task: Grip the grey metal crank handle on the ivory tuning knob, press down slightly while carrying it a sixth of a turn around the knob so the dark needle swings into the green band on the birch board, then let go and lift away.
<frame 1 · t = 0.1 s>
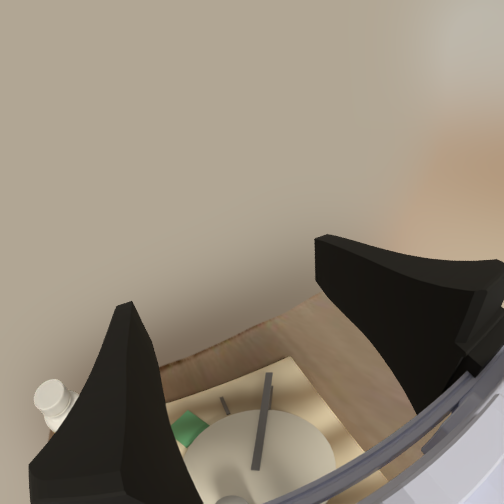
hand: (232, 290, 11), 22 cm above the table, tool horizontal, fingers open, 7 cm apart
supplement bottle: (98, 444, 26), on the table
tuning knob: (255, 439, 21), point 5 cm above the table, hinge at 0.0°
dial board: (256, 472, 22), on the table
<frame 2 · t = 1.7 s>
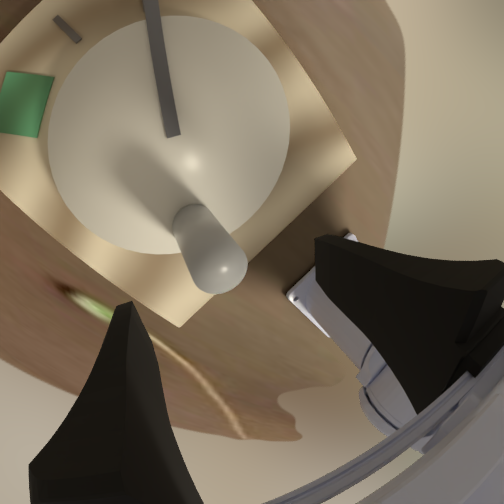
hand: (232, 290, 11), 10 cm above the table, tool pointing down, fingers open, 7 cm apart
tuning knob: (170, 91, 11), point 5 cm above the table, hinge at 0.0°
dial board: (155, 120, 16), on the table
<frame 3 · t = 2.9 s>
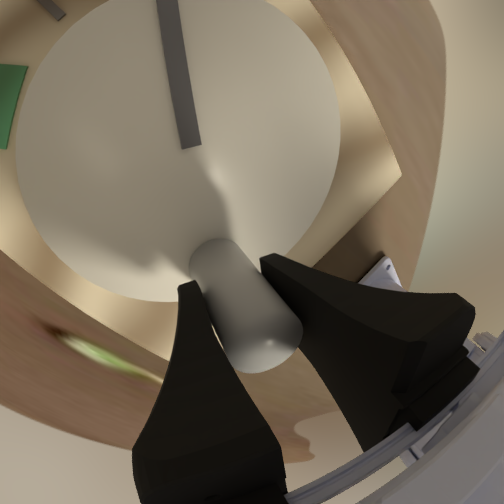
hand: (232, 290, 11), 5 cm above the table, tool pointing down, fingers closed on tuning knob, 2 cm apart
tuning knob: (190, 81, 7), point 5 cm above the table, hinge at 0.0°, touching gripper
dial board: (162, 123, 12), on the table
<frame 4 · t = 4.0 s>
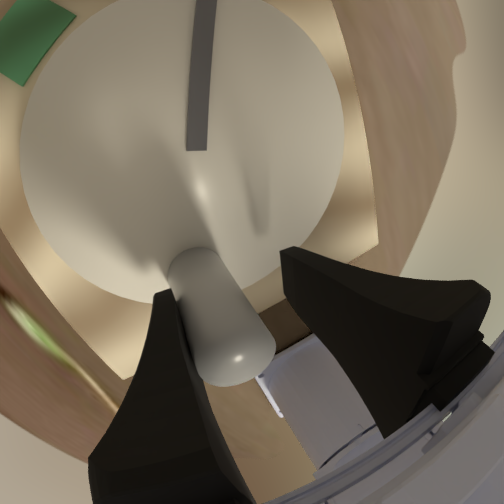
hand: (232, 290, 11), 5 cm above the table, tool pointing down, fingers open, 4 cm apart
tuning knob: (213, 83, 8), point 5 cm above the table, hinge at 7.6°, touching gripper
dial board: (173, 121, 12), on the table
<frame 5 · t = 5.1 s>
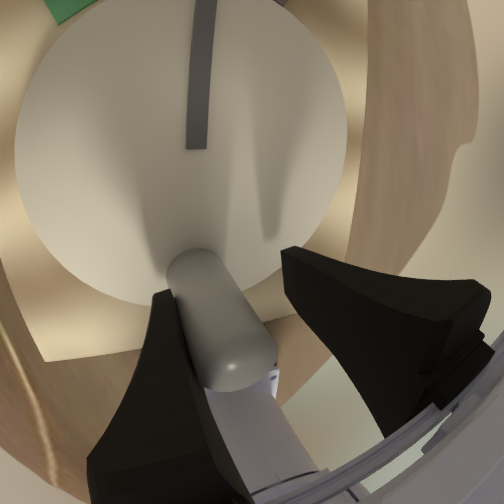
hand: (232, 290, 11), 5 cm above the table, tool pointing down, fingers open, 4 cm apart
tuning knob: (213, 79, 7), point 5 cm above the table, hinge at 27.7°, touching gripper
dial board: (180, 117, 12), on the table
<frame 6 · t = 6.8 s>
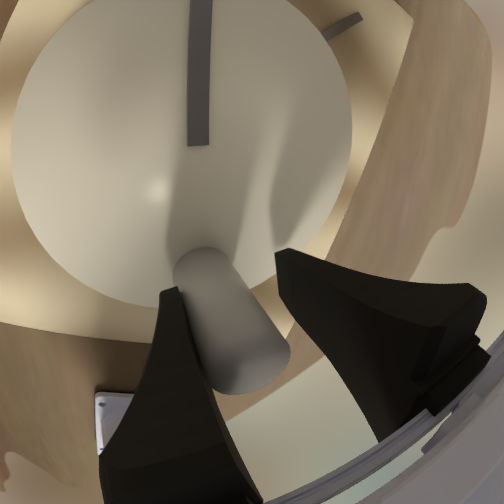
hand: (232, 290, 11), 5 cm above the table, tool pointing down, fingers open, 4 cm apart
tuning knob: (213, 73, 7), point 5 cm above the table, hinge at 50.1°, touching gripper
dial board: (189, 114, 12), on the table
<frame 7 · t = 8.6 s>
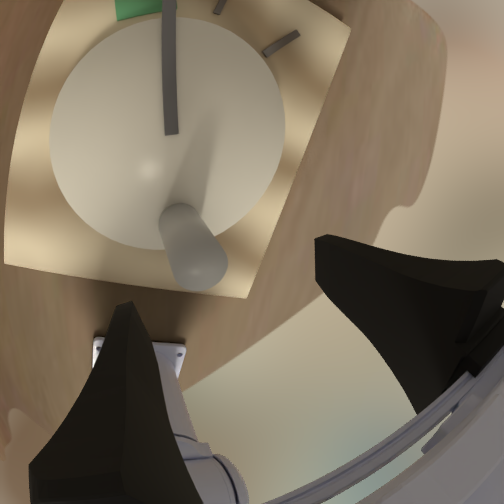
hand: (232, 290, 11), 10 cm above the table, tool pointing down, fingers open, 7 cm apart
tuning knob: (174, 89, 12), point 5 cm above the table, hinge at 52.3°
dial board: (169, 115, 16), on the table
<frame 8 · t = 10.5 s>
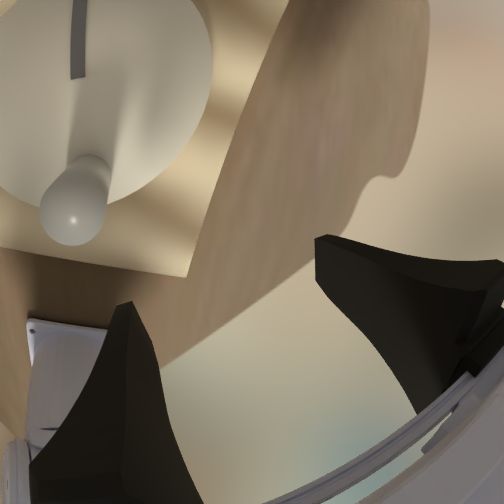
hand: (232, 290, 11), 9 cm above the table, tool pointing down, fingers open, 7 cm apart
tuning knob: (71, 25, 8), point 5 cm above the table, hinge at 52.3°
dial board: (92, 67, 13), on the table
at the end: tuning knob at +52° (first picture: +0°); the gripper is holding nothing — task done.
